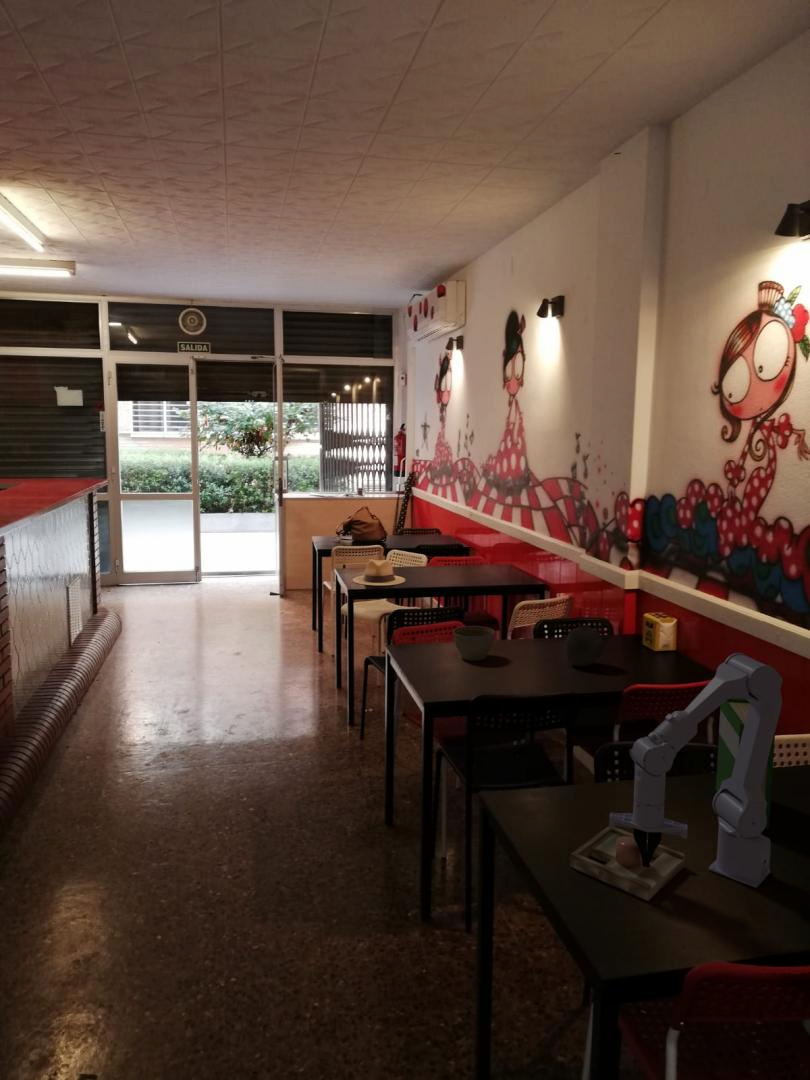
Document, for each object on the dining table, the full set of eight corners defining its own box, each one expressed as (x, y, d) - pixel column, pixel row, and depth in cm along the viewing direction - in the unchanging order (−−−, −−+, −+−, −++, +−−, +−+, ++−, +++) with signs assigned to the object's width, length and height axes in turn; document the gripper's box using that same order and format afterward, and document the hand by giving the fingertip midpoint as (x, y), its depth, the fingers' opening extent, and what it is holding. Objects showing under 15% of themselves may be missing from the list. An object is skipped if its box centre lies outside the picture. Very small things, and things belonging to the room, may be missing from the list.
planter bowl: (450, 652, 312) (450, 626, 310) (489, 651, 313) (489, 625, 312) (457, 664, 296) (457, 637, 294) (498, 663, 298) (498, 635, 296)
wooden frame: (684, 866, 158) (685, 854, 158) (647, 901, 147) (648, 887, 146) (609, 837, 170) (609, 825, 170) (570, 866, 158) (570, 853, 158)
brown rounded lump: (646, 862, 156) (647, 843, 156) (630, 870, 153) (631, 851, 153) (626, 851, 160) (627, 833, 160) (610, 859, 157) (611, 841, 157)
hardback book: (768, 828, 173) (775, 726, 170) (733, 826, 175) (740, 724, 171) (747, 792, 191) (753, 699, 187) (715, 790, 192) (720, 697, 188)
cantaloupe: (574, 673, 285) (575, 633, 283) (558, 662, 299) (558, 624, 297) (609, 670, 288) (610, 630, 286) (591, 659, 302) (592, 621, 300)
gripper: (688, 796, 152) (685, 860, 154) (612, 785, 157) (610, 847, 159) (688, 812, 146) (685, 879, 148) (609, 800, 151) (607, 865, 153)
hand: (646, 864), depth 153 cm, fingers closed
